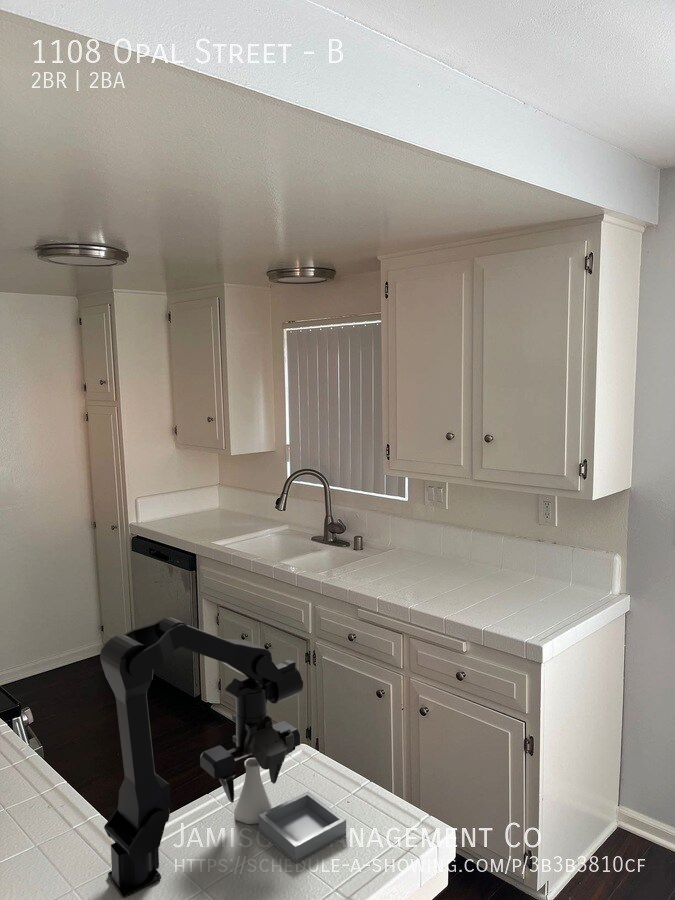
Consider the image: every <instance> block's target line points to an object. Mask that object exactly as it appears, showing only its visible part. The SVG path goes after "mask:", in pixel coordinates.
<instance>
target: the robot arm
mask: <svg viewBox="0 0 675 900" xmlns="http://www.w3.org/2000/svg"><path fill="white" fill-rule="evenodd" d="M179 648H182V649H183V650H187V651H190V652H193V653H195V654H199V655H202V656H205V657H207V658H210V659H213V660H216V661H219V662H221V663H222V664H223V665H225V666H227V667H228V668H229V669H231V670H233V671H235V672H237V673H239V674H241V675H242V676H245V678H243V679H240V680H239V679H237V678H233V679H232V680H231V682H230V683H229V684H228V685H227V686H226V687H225V688H224V691H225V692H226V693H228V694H229V695H231V696H232V697H235V713H234V714H232V715H231V716H232V718H231V719H232V721H233V722H235V729H236V730H235V732H236V733H235V734H234V735H232V742H233V743H234V744H235V745H236V747H234V748H231V749H229V750H227V749H226V748H224V747H223V746H222V745H217V746H214V747H211V748H209V749H207V750H204V751H202V753H201V754H200V757H199V764H200V765H199V766H200V768H202V769H203V770H204V771H205V772H206V773H207V774H209V775H210V776H211V777H212V778H213V779H215V780H217V779H218V780H219V782H220V784H221V786H222V789H223V791H224V793H225V795H226V797H227V799H228V801H229V802H230V803H232V804H233V803H234V801H235V784H234V783H235V781H234V778H235V777H236V775H237V772H236V771H235V769H236V762H237V761H239V760H241V759H244V758H246V757H248V756H252V755H253V758H255V759H256V760H257V761H258V763H259V764H260V769H262V770H266V771H267V770H268V772H269V773H268V774H269V777H270V778H269V779H270V782H271V783H272V784H274V785H275V784H276V783H277V780H278V779H279V778H278V777H279V775H280V772H281V769H282V766H283V763H284V762H285V759H286V757H287V756H288V755H289V754H292V752H293V751H295V750H296V747H299V746H300V745H301V743H302V734H301V732H300V730H299V729H298V728H297V727H296V726H294V725H291V724H290V723H289V722H287V721H285V720H282V721H279V722H277V723H274V724H273V721H272V717H270V716H269V715H268V702H270V703H271V704H274V705H275V704H278V703H280V702H282V701H285V700H287V699H290V698H292V697H295V696H297V695H299V694H301V693H302V691H303V688H304V680H303V679H302V675H301V673H300V671H299V670H298V668H297V665H296V661H293V660H292V659H289V658H288V659H286V660H284V661H282V662H280V663H278V664H275V663H274V662H273V657H272V652H271V651H270V650H268V649H267V648H265V647H263V646H260V645H258V644H256V643H253V642H251V641H248V640H246V639H245V640H243V639H237V638H236V639H235V638H230V639H228V638H223V637H220V636H217V635H215V634H212V633H210V632H207V631H204V630H202V629H199V628H197V627H194V626H191V625H188V624H187V623H185V622H183V621H181V620H178V619H176V618H174V617H170V616H168V617H164V618H162V619H159V620H158V621H156V622H154V623H151V624H148V625H145V626H141V627H138V628H135V629H132V630H130V631H128V632H126V633H124V634H119V635H115V636H113V637H111V638H110V639H109V640H108V641H107V642H106V643H105V644H104V646H103V647H102V648H101V649H100V653H99V654H100V655H99V659H100V663H101V667H102V670H103V673H104V676H105V679H106V680H107V682H108V684H109V686H110V688H111V690H112V692H113V695H114V697H115V702H116V703H115V705H116V712H117V713H116V714H117V721H118V729H119V739H120V747H121V755H122V765H123V773H124V777H123V778H124V779H123V780H122V784H121V786H120V788H119V791H118V802H117V803H118V805H117V806H116V808H115V810H114V811H113V813H112V814H111V816H110V817H109V818H108V820H107V822H106V823H105V824H104V827H103V830H104V831H105V833H106V835H107V837H108V838H110V839H112V841H113V843H111V844H110V854H111V855H110V857H111V858H110V859H111V860H110V861H111V870H110V871H108V873H107V877H108V878H109V881H111V883H112V885H113V886H114V888H115V889H116V890H117V892H118V893H119V895H120V896H121V897H122V898H126V897H128V896H130V895H133V894H134V893H137V892H138V891H140V890H142V889H144V888H146V887H149V886H150V885H152V884H155V883H156V882H158V881H160V880H161V879H162V875H161V873H160V872H159V870H158V869H159V868H160V851H159V849H160V846H161V843H162V839H163V838H162V837H163V836H164V835H163V834H164V831H165V827H166V824H167V823H168V822H169V819H170V815H171V814H170V812H171V810H170V809H173V808H174V805H173V804H172V801H171V785H170V783H169V782H167V781H166V780H165V779H163V778H162V777H161V775H159V774H157V773H156V769H155V762H154V761H155V760H154V751H153V741H152V733H151V725H150V724H151V723H150V715H149V704H148V695H147V694H148V691H149V688H150V686H151V683H152V681H153V677H154V669H156V668H158V667H159V666H162V665H163V664H164V663H165V662H166V661H167V660H168V658H170V656H171V655H172V654H173V652H174V651H176V650H177V649H179Z"/></svg>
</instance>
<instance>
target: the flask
mask: <svg viewBox="0 0 675 900" xmlns="http://www.w3.org/2000/svg"><path fill="white" fill-rule="evenodd" d="M243 766H244V769H245V776H244V782H243V784H242V788H241V792H240V794H239V796H238V797H239V798H238V800H237V802H236V805H235V808H234V820H235V821H238V822H241V823H242V824H243V823H244V824H247V825H252V824H259V814H261V813H264V812H266V811H268V810H270V809H272V808H273V807H272V803H271V801H270V800H271V799H270V798H269V796H268V793H267V791H266V788H265V785H264V783H263V780H262V776H261V770H260V769H261V767H260V764H259V763H258V761H257V760H256V759H255V757H249V758H246V760H244V765H243Z"/></svg>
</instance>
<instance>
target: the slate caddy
mask: <svg viewBox="0 0 675 900" xmlns="http://www.w3.org/2000/svg"><path fill="white" fill-rule="evenodd" d="M258 832H260V833H261V834H262V835H263V836H264V837H265V838H266V839H267V840H268V841H270V843H272V844H273V845H274V846H275V847H276V848H277V849H278V850H280V852H282V853H283V854H284V855H285V857H287V858H289V860H291V861H292V862H293V863H294V864H296V865H297V864H298V863H299V862H302V861H303V860H305V859H307V858H308V857H311V856H312V855H314V854H316V853H318V852H320V851H321V850H323V849H325V848H327V847H329V846H331V845H333V844H334V843H336V842H338V841H340V840H342V839H343V838H345V837H347V819H346V818H345V817H344V816H342V815H341V814H339V813H338V812H337V811H335V810H334V809H333V808H331V807H330V806H329V805H327V804H326V803H324V802H323V801H322V800H320V799H319V798H318V797H316V796H315V795H314V794H313V793H311V792H310V791H305V792H303V793H302V794H299V795H298V796H295V797H293V798H291V799H288V800H287V801H284V802H282V803H281V804H279V805H276V806H275V807H272V809H270V810H268V811H266V812H264V813H261V814H259V823H258Z"/></svg>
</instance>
